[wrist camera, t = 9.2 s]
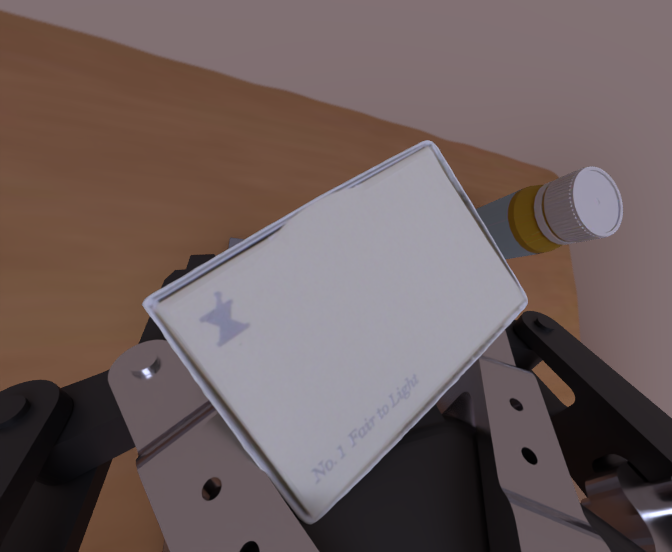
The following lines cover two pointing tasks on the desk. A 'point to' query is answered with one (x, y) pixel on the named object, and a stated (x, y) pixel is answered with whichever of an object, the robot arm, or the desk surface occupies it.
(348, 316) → the skincare box
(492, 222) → the bottle
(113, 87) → the desk surface
